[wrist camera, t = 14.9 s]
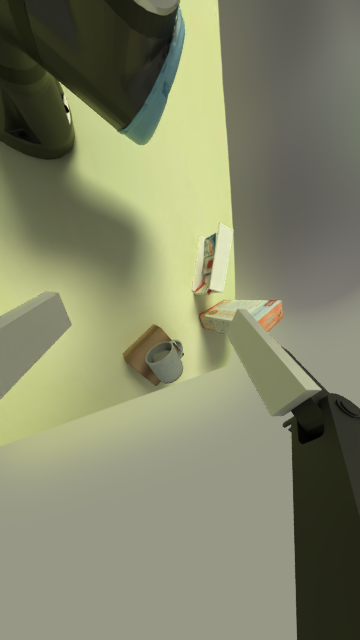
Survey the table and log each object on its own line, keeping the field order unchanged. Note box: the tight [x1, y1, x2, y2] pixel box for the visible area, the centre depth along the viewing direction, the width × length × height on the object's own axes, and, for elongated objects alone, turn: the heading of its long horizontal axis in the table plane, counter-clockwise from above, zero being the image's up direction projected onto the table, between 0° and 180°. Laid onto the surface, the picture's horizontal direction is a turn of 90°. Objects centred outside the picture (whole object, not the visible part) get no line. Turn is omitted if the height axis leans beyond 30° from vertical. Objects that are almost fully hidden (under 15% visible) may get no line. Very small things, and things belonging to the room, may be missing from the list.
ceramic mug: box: [145, 340, 183, 383], centre depth 34 cm, size 11×8×8 cm
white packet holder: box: [192, 222, 233, 295], centre depth 43 cm, size 20×6×9 cm, turn 171°
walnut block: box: [123, 324, 184, 386], centre depth 39 cm, size 12×12×6 cm
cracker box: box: [199, 300, 283, 334], centre depth 44 cm, size 14×6×21 cm, turn 114°
